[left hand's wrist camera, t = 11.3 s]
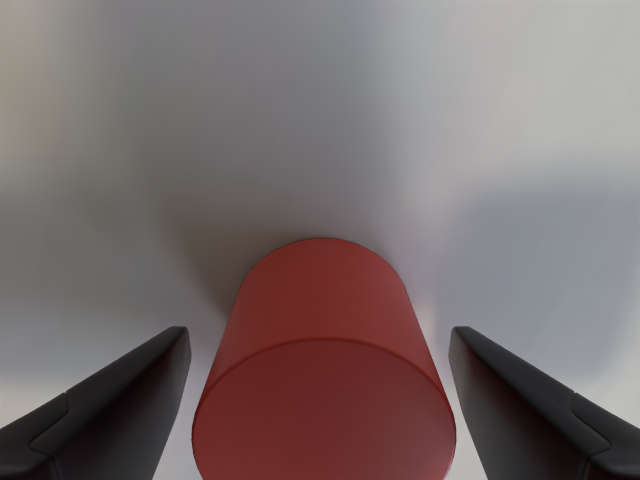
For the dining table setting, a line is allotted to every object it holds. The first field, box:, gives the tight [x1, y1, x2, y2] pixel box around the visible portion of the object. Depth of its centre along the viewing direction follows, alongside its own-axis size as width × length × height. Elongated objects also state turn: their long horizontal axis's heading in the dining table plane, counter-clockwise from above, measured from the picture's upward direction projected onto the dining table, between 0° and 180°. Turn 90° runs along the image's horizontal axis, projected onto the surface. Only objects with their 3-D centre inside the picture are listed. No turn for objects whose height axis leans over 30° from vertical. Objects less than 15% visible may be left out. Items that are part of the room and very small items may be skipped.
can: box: [192, 238, 456, 480], centre depth 10 cm, size 5×5×5 cm
